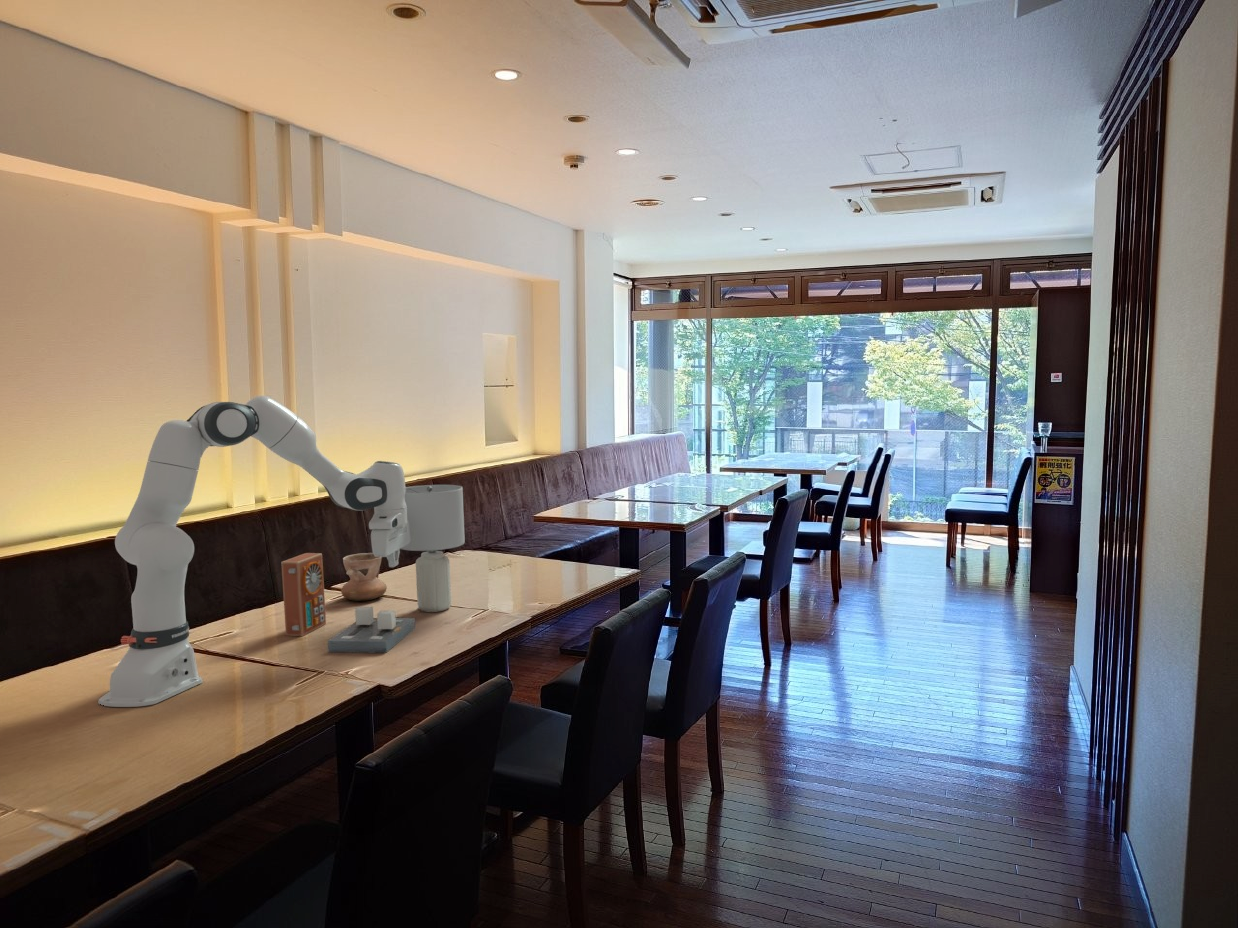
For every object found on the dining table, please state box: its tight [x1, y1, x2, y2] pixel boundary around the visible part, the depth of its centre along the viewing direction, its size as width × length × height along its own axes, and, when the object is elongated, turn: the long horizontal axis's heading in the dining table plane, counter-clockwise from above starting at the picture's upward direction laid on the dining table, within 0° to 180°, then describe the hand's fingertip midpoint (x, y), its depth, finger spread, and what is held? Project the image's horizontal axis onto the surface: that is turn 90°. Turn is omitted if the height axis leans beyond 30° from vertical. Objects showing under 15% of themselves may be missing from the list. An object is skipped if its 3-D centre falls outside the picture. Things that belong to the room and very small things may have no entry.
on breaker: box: [354, 606, 375, 625], centre depth 235 cm, size 3×4×4 cm
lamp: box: [400, 484, 466, 613], centre depth 260 cm, size 20×20×39 cm
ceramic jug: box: [340, 552, 388, 602], centre depth 277 cm, size 18×14×14 cm
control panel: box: [280, 552, 327, 637], centre depth 242 cm, size 21×7×15 cm
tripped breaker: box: [376, 609, 397, 629], centre depth 230 cm, size 3×4×4 cm
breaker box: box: [327, 617, 416, 654], centre depth 231 cm, size 22×16×3 cm
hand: (393, 566), depth 236 cm, fingers closed
